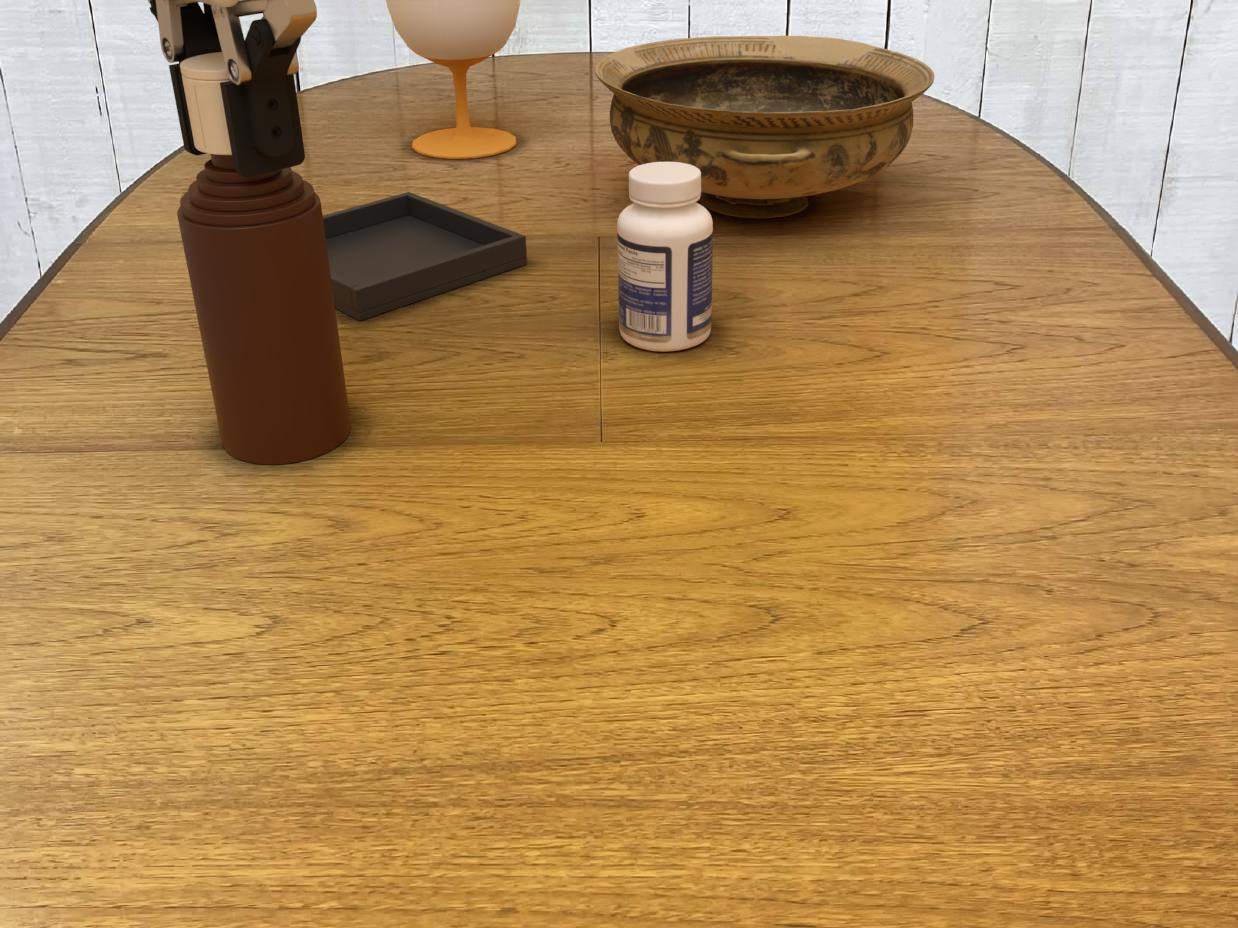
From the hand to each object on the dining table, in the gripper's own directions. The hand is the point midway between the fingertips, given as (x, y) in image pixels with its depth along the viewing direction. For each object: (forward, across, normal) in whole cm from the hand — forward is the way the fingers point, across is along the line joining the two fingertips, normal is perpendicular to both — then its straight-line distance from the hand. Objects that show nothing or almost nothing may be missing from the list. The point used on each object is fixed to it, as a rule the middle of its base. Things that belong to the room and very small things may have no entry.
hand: (244, 154), depth 57 cm
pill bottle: (+14, -5, -22) cm, 27 cm away
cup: (+14, +35, -38) cm, 54 cm away
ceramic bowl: (+14, +7, -44) cm, 47 cm away
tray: (+14, +16, -17) cm, 27 cm away
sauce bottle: (+14, 0, 0) cm, 14 cm away
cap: (-1, 0, 0) cm, 1 cm away
